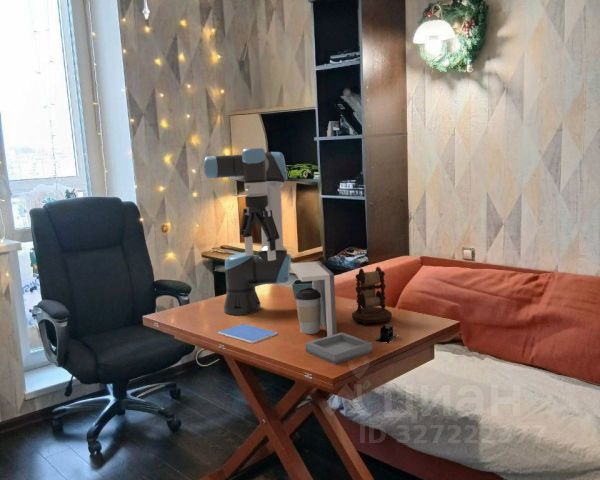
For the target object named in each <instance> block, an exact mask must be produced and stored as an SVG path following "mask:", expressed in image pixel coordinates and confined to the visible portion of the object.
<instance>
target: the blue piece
mask: <svg viewBox="0 0 600 480" xmlns="http://www.w3.org/2000/svg"><path fill="white" fill-rule="evenodd" d="M217 334H218V335H220V334H221V336H224V335H225V337H228V338H231V339H235V340H240V341H242V342H246V343H249V344H256V343H259V342H262V341H264V340H267V339H271V338H273V337H276V336H277V335H278V332H277V331H274V330H269V329H266V328H261V327H257V326H254V325H250V324H245V323H242V324H239V325H235V326H232V327H229V328H226V329H223V330H220V331H218V332H217ZM272 336H273V337H272Z"/></svg>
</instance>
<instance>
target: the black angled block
mask: <svg viewBox="0 0 600 480" xmlns="http://www.w3.org/2000/svg"><path fill="white" fill-rule="evenodd" d="M379 334H380V335H379V337H377V338H378V339H377V338H376V339H375V340H374V342H375V341H376V342H375V343H382V342H387V343H386V344H390V343H391V342H390V341H392V340H393V339H394V338H395V337H396V336H397V335H398V334H397V335H394V327H393V324H392V325H390V324H384V325H382V326H381V327H380V330H379ZM395 339H396V338H395ZM395 339H394V340H395ZM394 340H393V341H394ZM377 341H379V342H377ZM393 341H392V342H393ZM389 342H390V343H389Z"/></svg>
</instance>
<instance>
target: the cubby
mask: <svg viewBox="0 0 600 480" xmlns="http://www.w3.org/2000/svg"><path fill="white" fill-rule="evenodd" d="M290 270H291V271H292V272H293V273H294V274H295V275H296V277H297V278H298V280H301V281H302V282H304V281H313V289H316V290H317V291H318V292H320V293H321V297H320V303H321V318H320V325H322V327H323V328H324V330H325V331H326V334H327V335H326V337H327V336H331V335H335V334H338V332H337V331H338V330H337V310H336V291H335V290H336V288H335V274H334V273H333V272H332V271H331V270H330V269H328V268H327V266H325V265H324V264H323V263H322V262H321V261H319V260H317V261H308V262H294V263H291V264H290Z"/></svg>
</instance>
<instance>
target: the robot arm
mask: <svg viewBox="0 0 600 480" xmlns="http://www.w3.org/2000/svg"><path fill="white" fill-rule="evenodd" d="M203 170H204V175H205V177H206V178H208V179H221V178H228V179H230V180H233V181H240V182H244V195H245V196H244V198H245V207H246V208H243V213H242V221H241V226H240V230H239V234H240V235H242V236H243V239H244V252H240V253H236V254H235V253H234V254H232V255H229V256H227V257H226V258H225V260H224V272H225V284H226V296H225V300H224V303H223V311H224V313H225V314H227V315H235V316H240V315H242V316H243V315H250V314H254V313H257V312H259V311H260V310H261V308H262V305H261V301H260V298H259V297H258V293H257V291H256V285H275V284H276V285H279V284H285V283H287V282H288V281H289V278H290V275H291V268H290V264H292V263H291V262H292V260H291V259H292V255H291V254H289V253H288V250H287V248H286V247H284V238H283V236H284V235H283V233H284V232H283V211H282V188H283V187H284V186H285V181H287V180H288V172H287V165H286V161H285V157H284V154H283V153H282V152H280V151H268V152H266V151H265V148H263V147H256V148H255V147H254V148H244V149H243V150H242V154H233V155H232V154H231V155H211V156H206V157H205V158H204V161H203ZM256 224H258V225H260V227H261V229H260V230H261V248H259V250H258V255H254V244H253V236H252V234H253V233H252V232H253V230H254V229H255V226H256Z"/></svg>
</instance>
